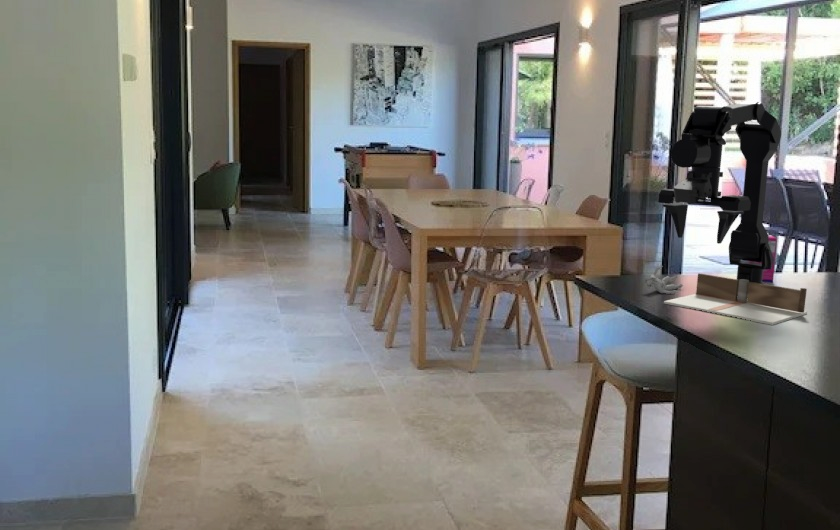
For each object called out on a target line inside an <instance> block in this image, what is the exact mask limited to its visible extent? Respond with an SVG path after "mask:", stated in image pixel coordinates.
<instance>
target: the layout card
mask: <svg viewBox="0 0 840 530" xmlns="http://www.w3.org/2000/svg"><path fill="white" fill-rule="evenodd" d="M663 304H665V305H670V306H673V307H675V306H676V307H680V308H686V309H689V308H691V309H690V310H694V309H696V310H695V311H699V310H702V311H701V312H704V311H707V312H706V313H710V312H712V313H711V314H715V313H717V314H716V315H720V314H722V315H721V316H725V315H727V316H726V317H730V316H732V317H731V318H735V317H737V318H736V319H740V318H742V319H741V320H745V319H746V320H745V321H750V320H751V321H750V322H755V323H760V324H765V325H771V326H773V325H776V324H779V323H782V322H783V323H784V322H786V321H789V320H791V319H795V318H798V317H801V316H805V315H807V313H808V311H805V310H804V313H800V312H796V311H791V310H785V309H780V308H774V307H769V306H764V305H758V304H753V303H739V302H737V301H732V300H726V299H721V298H716V297H710V296H705V295H699V294H696V293H693V294H688V295H685V296H680V297H675V298H673V299H667V300H664V301H663Z"/></svg>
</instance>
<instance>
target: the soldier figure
mask: <svg viewBox="0 0 840 530" xmlns="http://www.w3.org/2000/svg"><path fill="white" fill-rule="evenodd" d="M663 267H664V266H663V265H659V266H657V267H655V269H654V270H653V272H651V274H650V277H649V278H648V279H647V278H646V279H644V282H645V284H646V285H647V288H648V289H650V288H651V287H653V289H654V290H656V291H657V292H659V293H660V294H662V293H666V294H665V295H671V294H673V295H675V294H678V293H679V291H678V290H677V289H681V288H682V287H683V286H684V285H683V284H682V283H680V284H677V285H676V284H674V283H671V282H673V281H675V280H677V278H678V275H674V276H672V277H670V276H669V275H667V276H665V277H663V278H662V279H661V278H659V277H656V276H657V273H658V271H659V270H662V268H663ZM668 282H670V283H671V284H667V283H668Z"/></svg>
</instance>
